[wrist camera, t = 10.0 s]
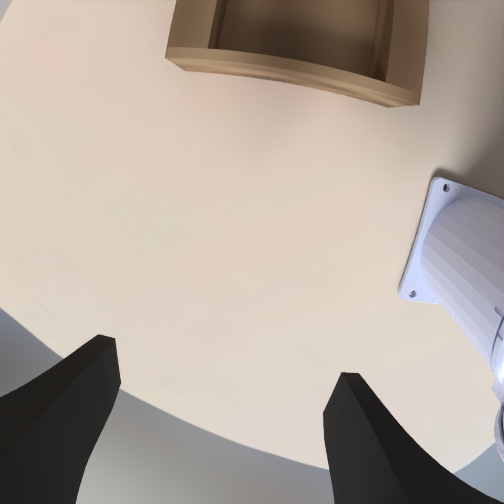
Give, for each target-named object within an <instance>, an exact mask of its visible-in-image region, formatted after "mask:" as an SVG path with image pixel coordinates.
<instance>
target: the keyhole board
mask: <svg viewBox="0 0 504 504" xmlns="http://www.w3.org/2000/svg"><path fill="white" fill-rule="evenodd" d="M428 12H429V0H177V1H176V6H175V10H174V14H173V19H172V24H171V28H170V33H169V38H168V43H167V49H166V54H165V58H166V59H168V60H169V61H171V62H172V63H174V64H176V65H177V66H179V67H180V68H182V69H183V70H185V71H194V72H207V73H219V74H228V75H237V76H245V77H253V78H260V79H267V80H273V81H279V82H285V83H290V84H296V85H301V86H306V87H311V88H316V89H320V90H325V91H329V92H333V93H338V94H342V95H346V96H350V97H354V98H357V99H361V100H365V101H368V102H372V103H375V104H379V105H382V106H385V107H399V106H413V105H419V103H420V96H421V89H422V82H423V74H424V65H425V55H426V44H427V30H428Z"/></svg>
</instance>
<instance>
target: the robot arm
mask: <svg viewBox="0 0 504 504" xmlns="http://www.w3.org/2000/svg"><path fill="white" fill-rule="evenodd" d="M445 184H446V185H447V188H446V190H445V191H444V190H443V186H444V185H445ZM412 291H414V293H413V294H411V295H410V293H411V292H412ZM398 295H399V297H400V298H401V299H403V300H408V301H417V302H426V303H435V304H441V305H442V306H443V307H444V309H445V310H446V311H447V312H448V314H449V315H450V316H451V317H452V319H453V320H454V321H455V322H456V324H457V325H458V326H459V327H460V329H461V330H462V331H463V332H464V334H465V335H466V336H467V338H468V339H469V340H470V341H471V343H472V344H473V345H474V347H475V348H476V349H477V351H478V352H479V353H480V355H481V356H482V357H483V359H484V360H485V362H486V363H487V364H488V366H489V367H490V369H491V370H492V371H493V372H494V375H495V382H494V385H493V387H492V390H493V392H494V393H495V395H496V397H497V398H498V400H499V401H500V403H501V407H500V409H499V411H498V413H497V416H496V419H495V426H494V437H495V442H496V446H497V449H498V451H499V454H500V456H501V458H502V460H503V462H504V200H503V199H500V198H498V197H495V196H493V195H490V194H488V193H485V192H482V191H480V190H477V189H474V188H471V187H468V186H466V185H463V184H460V183H457V182H454V181H451V180H448V179H445V178H442V177H434V178H433V179H432V181H431V184H430V188H429V192H428V196H427V200H426V203H425V207H424V211H423V215H422V218H421V222H420V225H419V229H418V232H417V235H416V239H415V242H414V245H413V248H412V251H411V255H410V258H409V261H408V264H407V267H406V270H405V272H404V275H403V278H402V281H401V284H400V287H399V289H398ZM120 384H121V379H120V372H119V365H118V358H117V350H116V341H115V338H112V337H108V336H104V335H100V334H98V335H97V336H95V337H94V338H92V339H91V340H89V341H88V342H87V343H85V344H84V345H82V346H81V347H80V348H78V349H77V350H76V351H74V352H73V353H71V354H70V355H69V356H67V357H66V358H65V359H63V360H62V361H60V362H59V363H58V364H56V365H55V366H53V367H52V368H50V369H49V370H47V371H46V372H44V373H42V374H41V375H39V376H38V377H36V378H35V379H33V380H31V381H30V382H28V383H27V384H25V385H23V386H21V387H20V388H18V389H16V390H14V391H12V392H10V393H8V394H6V395H4V396H2V397H0V504H75V503H76V499H77V495H78V491H79V487H80V484H81V481H82V477H83V473H84V470H85V467H86V465H87V462H88V460H89V457H90V455H91V453H92V451H93V449H94V446H95V444H96V442H97V440H98V438H99V436H100V434H101V432H102V430H103V427H104V425H105V423H106V421H107V419H108V417H109V415H110V413H111V410H112V408H113V406H114V403H115V400H116V397H117V394H118V391H119V387H120ZM323 425H324V441H325V447H326V453H327V459H328V464H329V470H330V476H331V481H332V486H333V493H334V502H335V504H504V503H503V502H500V501H498V500H496V499H494V498H492V497H489V496H487V495H485V494H484V493H482V492H480V491H478V490H476V489H475V488H473V487H471V486H469V485H468V484H467V483H465V482H463V481H462V480H460V479H459V478H458V477H456V476H455V475H453V474H452V473H451V472H449V471H448V470H447V469H445V468H444V467H443V466H442V465H440V464H439V463H438V462H437V461H436V460H435V459H433V458H432V457H431V456H430V455H429V454H428V453H427V452H426V451H425V450H424V449H422V448H421V447H420V446H419V445H418V444H417V443H416V441H415V440H414V439H413V438H412V437H411V436H410V435H409V434H408V433H407V432H406V431H405V430H404V429H403V427H402V426H401V425H400V424H399V423H398V422H397V420H396V419H395V418H394V417H393V416H392V414H391V413H390V412H389V411H388V410H387V408H386V407H385V406H384V405H383V403H382V402H381V401H380V399H379V398H378V397H377V396H376V394H375V393H374V392H373V390H372V389H371V388H370V387H369V385H368V384H367V383H366V381H365V380H364V379H363V378H362V376H361V375H360V374H359V373H345V372H341V375H340V377H339V379H338V381H337V384H336V386H335V388H334V390H333V393H332V395H331V397H330V399H329V401H328V403H327V405H326V408H325V410H324V412H323Z"/></svg>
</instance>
